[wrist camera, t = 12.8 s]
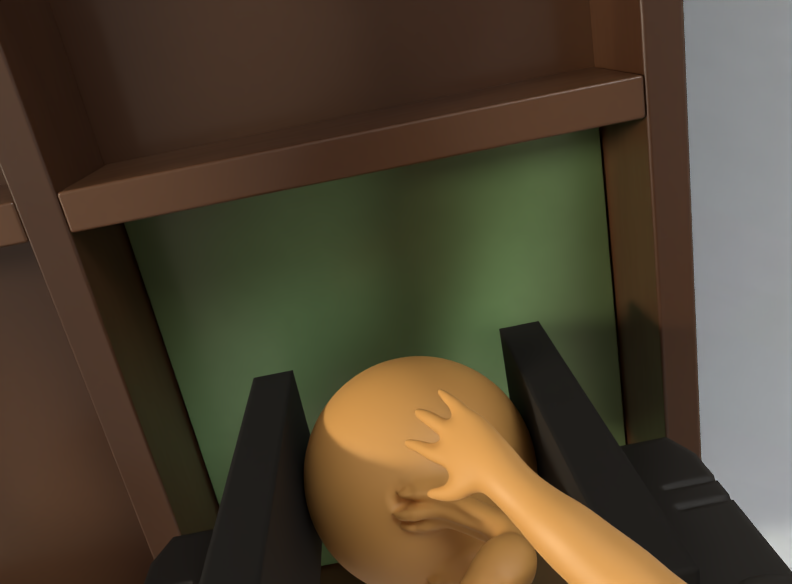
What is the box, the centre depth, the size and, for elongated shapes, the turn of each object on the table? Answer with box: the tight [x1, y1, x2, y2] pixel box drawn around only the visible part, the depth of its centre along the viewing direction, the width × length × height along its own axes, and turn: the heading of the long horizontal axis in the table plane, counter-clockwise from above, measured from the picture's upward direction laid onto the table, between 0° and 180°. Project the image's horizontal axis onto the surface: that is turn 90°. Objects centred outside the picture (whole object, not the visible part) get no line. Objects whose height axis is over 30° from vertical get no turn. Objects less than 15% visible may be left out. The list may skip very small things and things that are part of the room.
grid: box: [0, 0, 701, 584], centre depth 13 cm, size 21×21×3 cm
